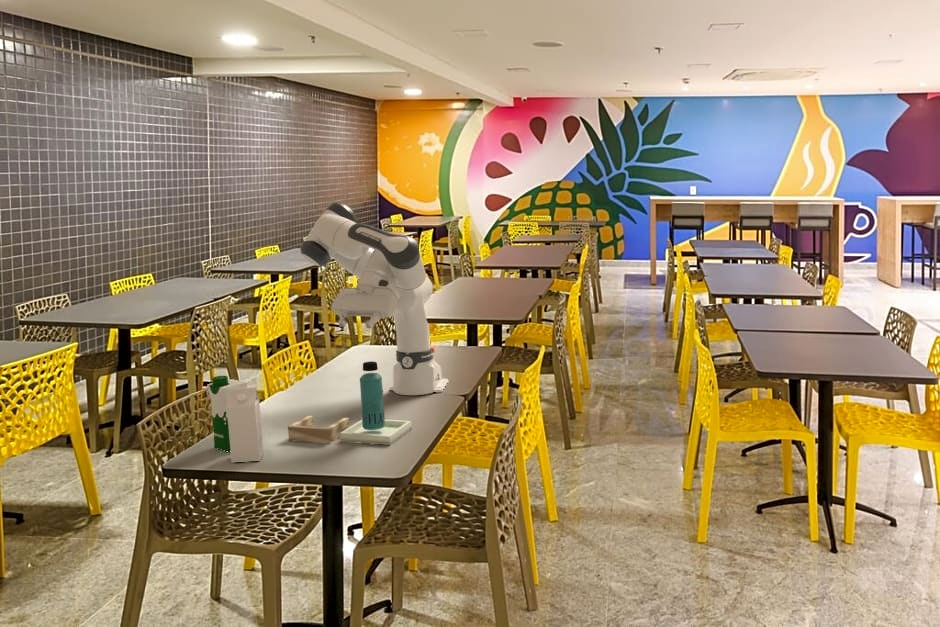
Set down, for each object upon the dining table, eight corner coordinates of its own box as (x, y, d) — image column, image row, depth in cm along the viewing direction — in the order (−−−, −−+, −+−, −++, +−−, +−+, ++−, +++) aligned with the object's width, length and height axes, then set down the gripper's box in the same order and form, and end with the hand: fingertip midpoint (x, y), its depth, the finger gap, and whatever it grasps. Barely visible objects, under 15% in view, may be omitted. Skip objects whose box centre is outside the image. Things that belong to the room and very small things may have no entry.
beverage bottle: (366, 436, 241) (362, 365, 238) (359, 431, 247) (354, 361, 244) (389, 432, 244) (385, 362, 240) (380, 427, 250) (376, 358, 246)
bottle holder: (309, 428, 254) (308, 415, 254) (349, 431, 250) (348, 418, 249) (288, 440, 244) (287, 426, 243) (330, 443, 239) (329, 429, 239)
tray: (364, 426, 254) (363, 418, 254) (412, 429, 250) (411, 421, 249) (340, 441, 241) (339, 433, 240) (390, 445, 236) (389, 436, 235)
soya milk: (209, 448, 239) (203, 377, 236) (237, 440, 246) (232, 370, 243) (227, 454, 234) (221, 381, 230) (256, 445, 240) (250, 374, 237)
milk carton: (236, 455, 232) (230, 385, 229) (263, 453, 233) (258, 384, 230) (231, 464, 225) (225, 392, 222) (259, 462, 226) (253, 390, 223)
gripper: (338, 280, 261) (320, 318, 254) (396, 282, 251) (379, 321, 244) (347, 293, 265) (330, 331, 258) (405, 295, 256) (389, 334, 249)
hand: (354, 326), depth 251 cm, fingers open, 8 cm apart
